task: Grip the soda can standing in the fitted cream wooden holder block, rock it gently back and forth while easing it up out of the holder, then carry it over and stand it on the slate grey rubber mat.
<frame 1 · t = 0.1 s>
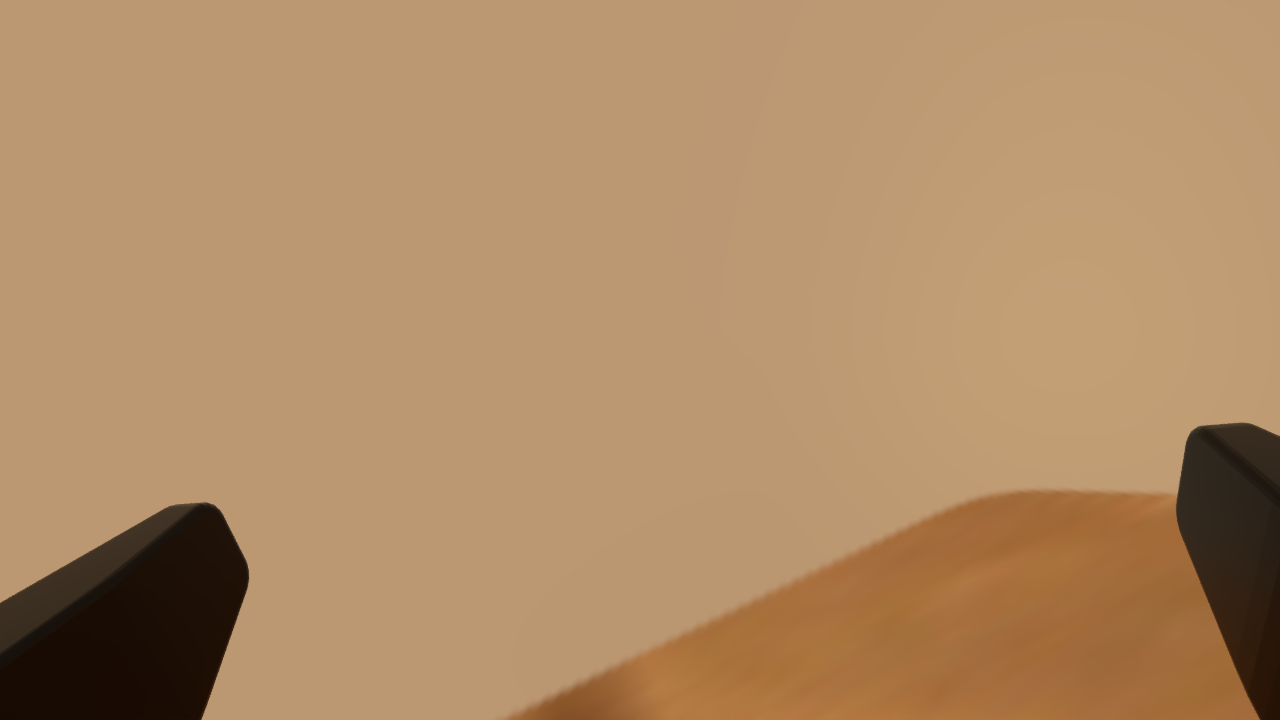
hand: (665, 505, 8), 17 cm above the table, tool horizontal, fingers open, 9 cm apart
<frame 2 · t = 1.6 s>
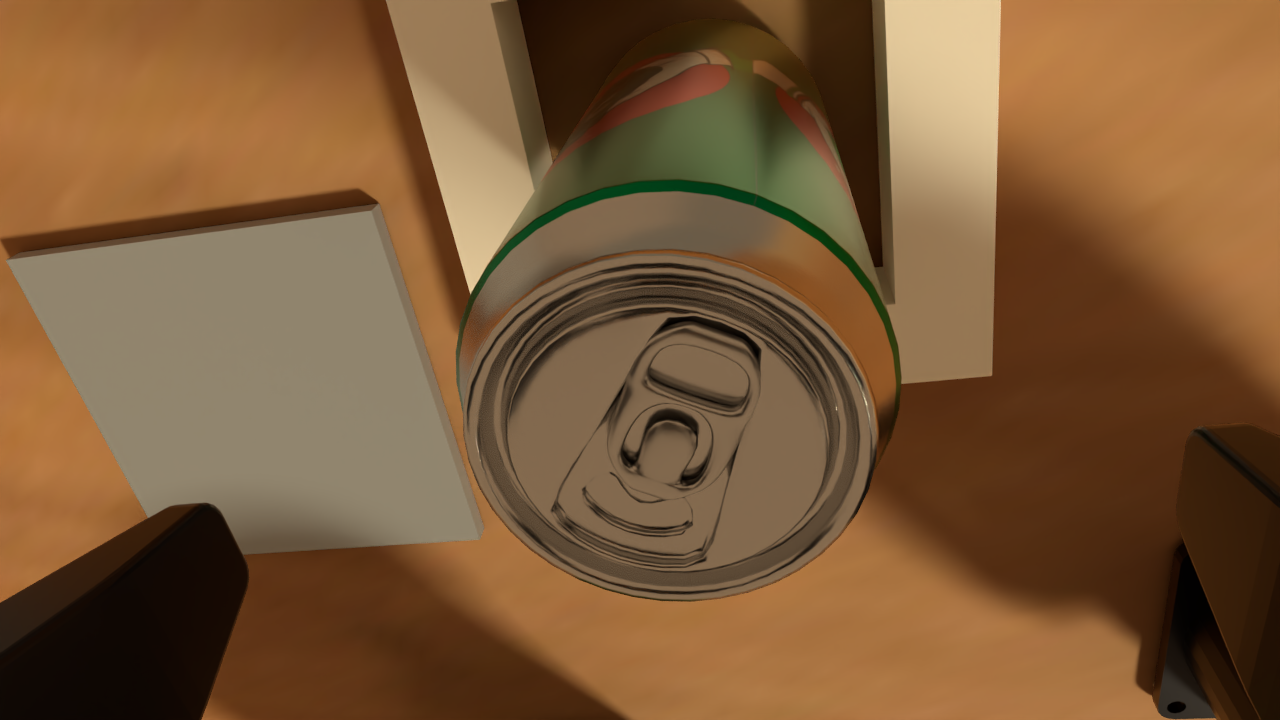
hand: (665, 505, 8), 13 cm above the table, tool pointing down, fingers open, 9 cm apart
grey mat: (266, 398, 24), on the table
soda can: (709, 133, 20), resting in holder block
holder block: (708, 135, 19), on the table
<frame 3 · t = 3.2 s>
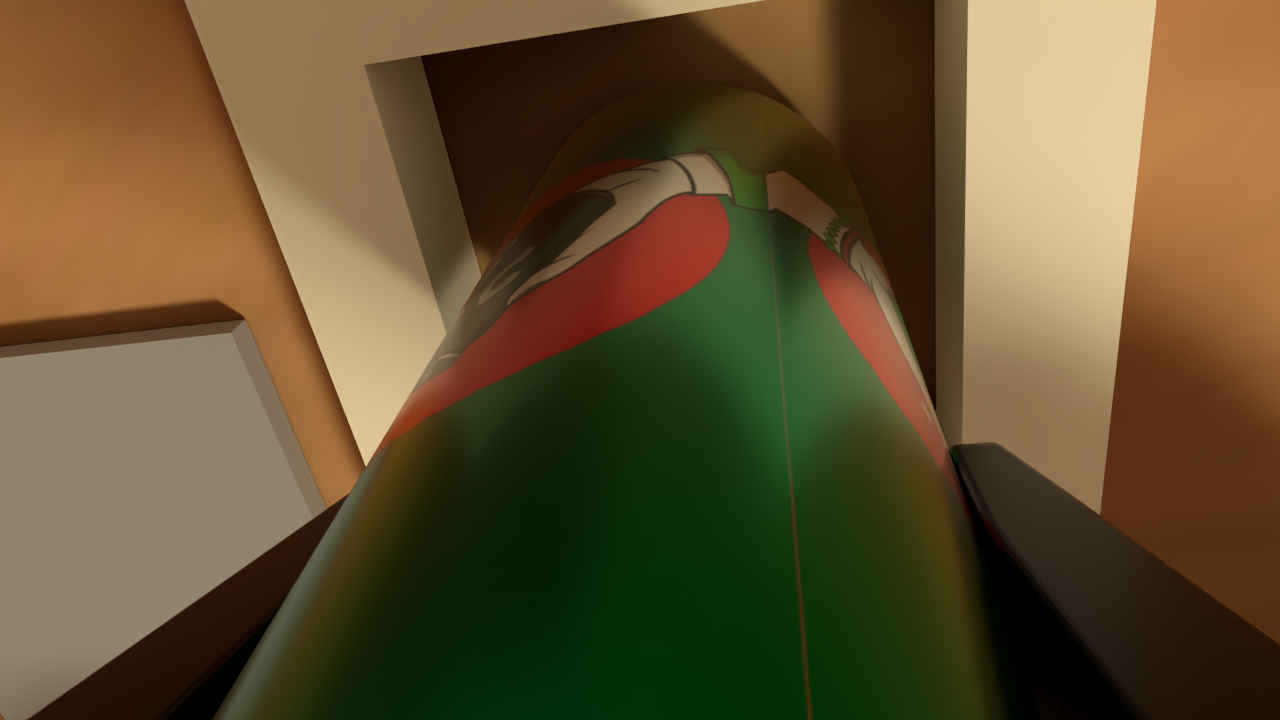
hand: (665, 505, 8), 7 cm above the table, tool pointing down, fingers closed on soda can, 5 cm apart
grey mat: (119, 553, 19), on the table
soda can: (697, 234, 14), resting in holder block, touching gripper
holder block: (696, 238, 14), on the table
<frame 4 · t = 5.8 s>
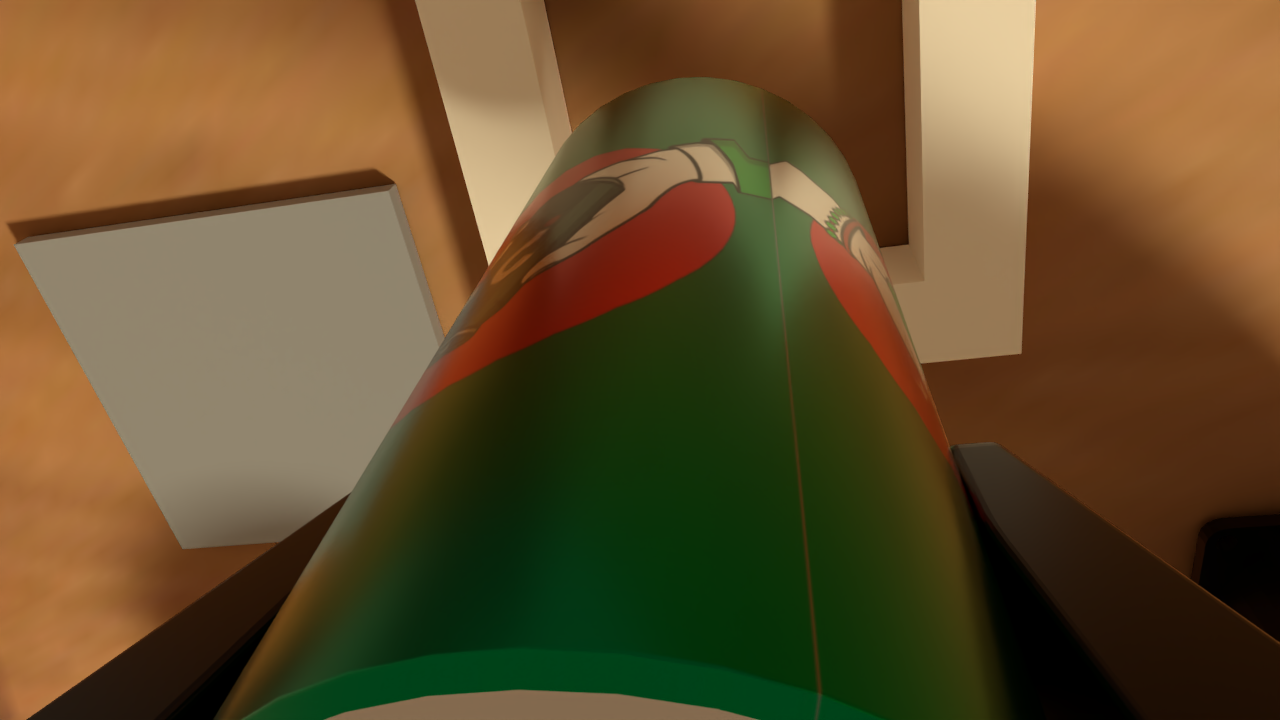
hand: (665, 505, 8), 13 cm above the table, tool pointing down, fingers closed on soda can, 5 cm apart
grey mat: (279, 384, 24), on the table
soda can: (698, 226, 14), point 6 cm above the table, touching gripper
holder block: (733, 111, 19), on the table
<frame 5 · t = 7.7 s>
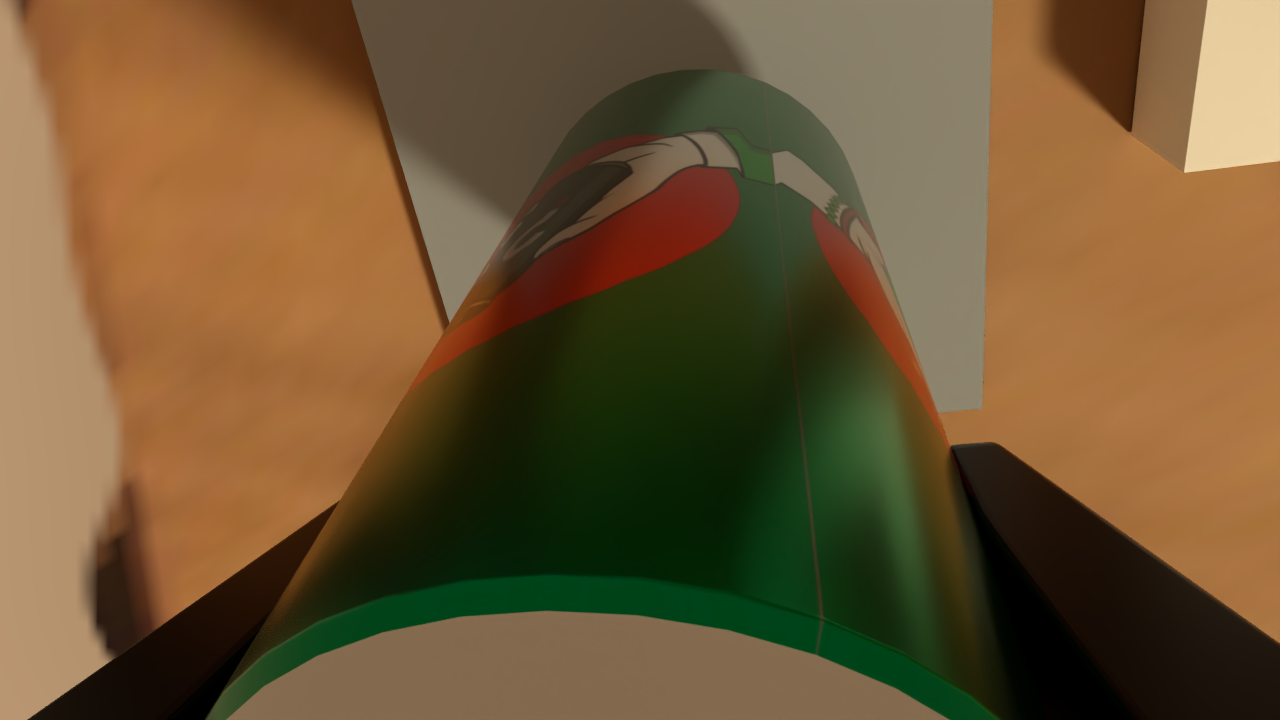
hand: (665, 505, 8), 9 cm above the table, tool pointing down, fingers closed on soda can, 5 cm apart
grey mat: (691, 186, 16), on the table
soda can: (699, 216, 15), point 1 cm above the table, touching gripper
when the fingers open (8 cm above the table, at t = 8.8 s): soda can stays where it is, resting on grey mat.
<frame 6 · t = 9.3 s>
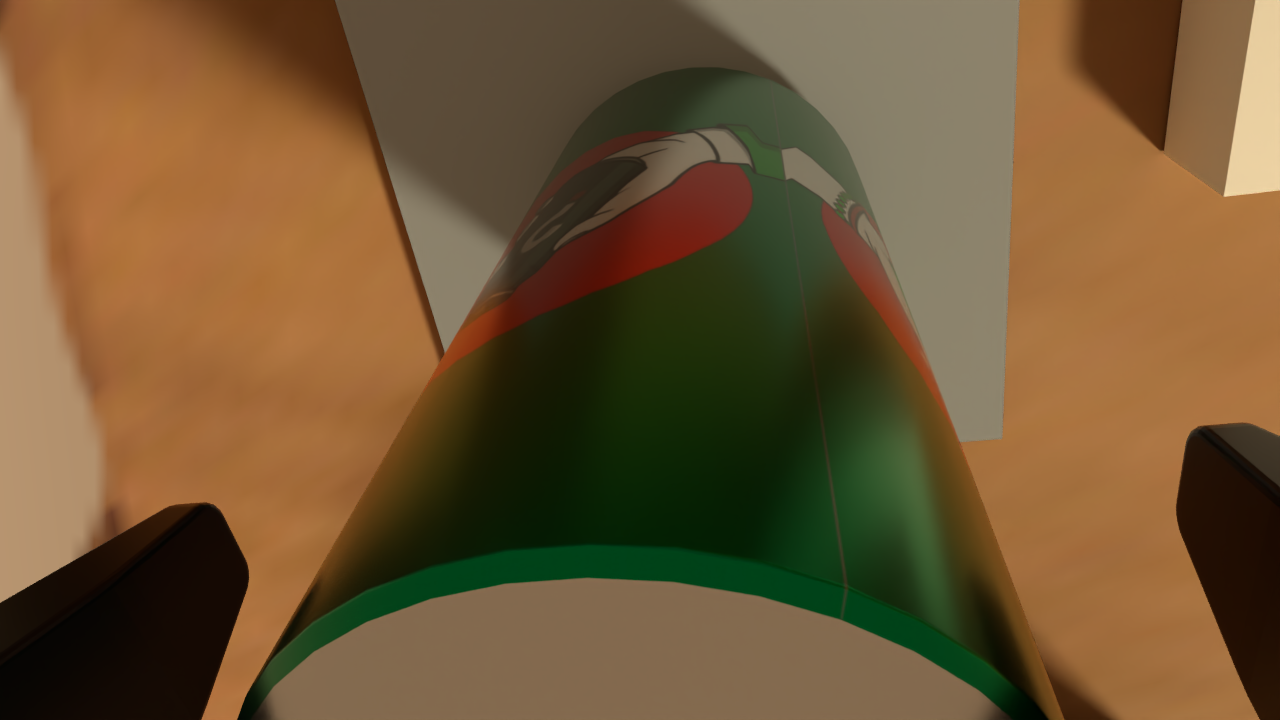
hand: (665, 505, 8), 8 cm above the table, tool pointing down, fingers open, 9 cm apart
grey mat: (697, 206, 15), on the table
soda can: (704, 212, 15), resting on grey mat
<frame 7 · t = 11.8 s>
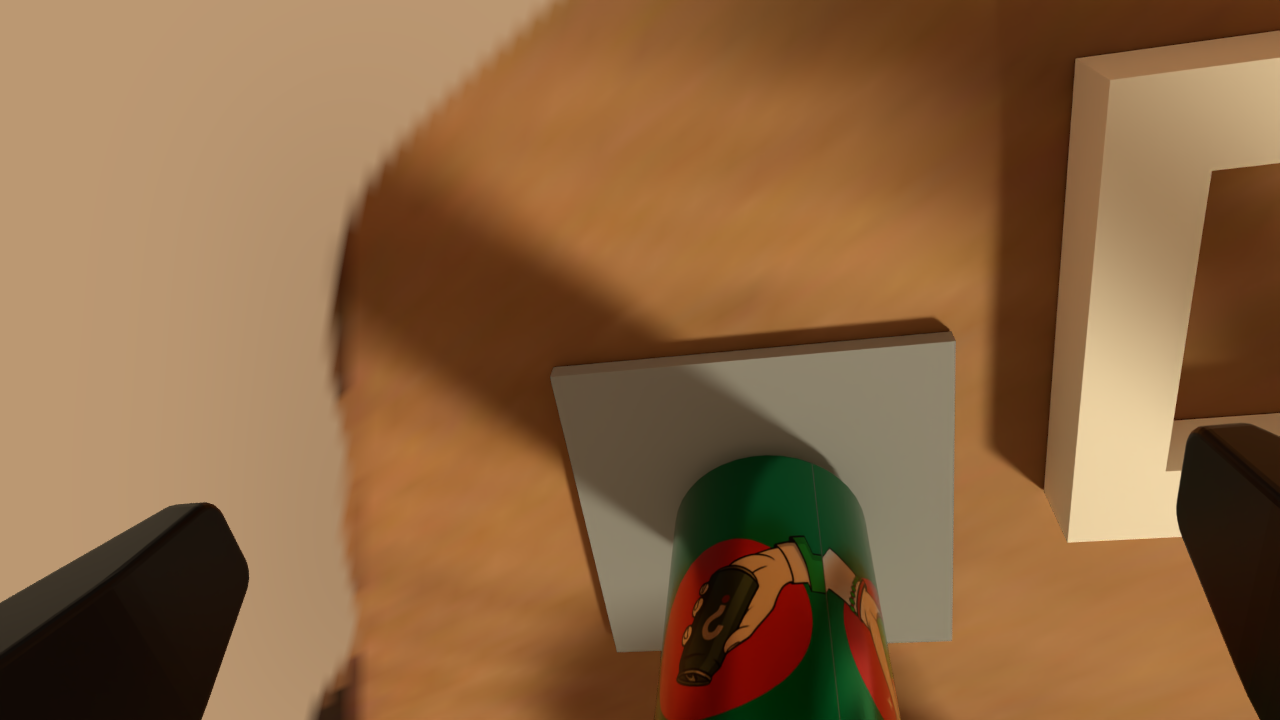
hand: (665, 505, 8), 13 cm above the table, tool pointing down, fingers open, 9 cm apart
grey mat: (763, 505, 25), on the table
soda can: (768, 512, 24), resting on grey mat
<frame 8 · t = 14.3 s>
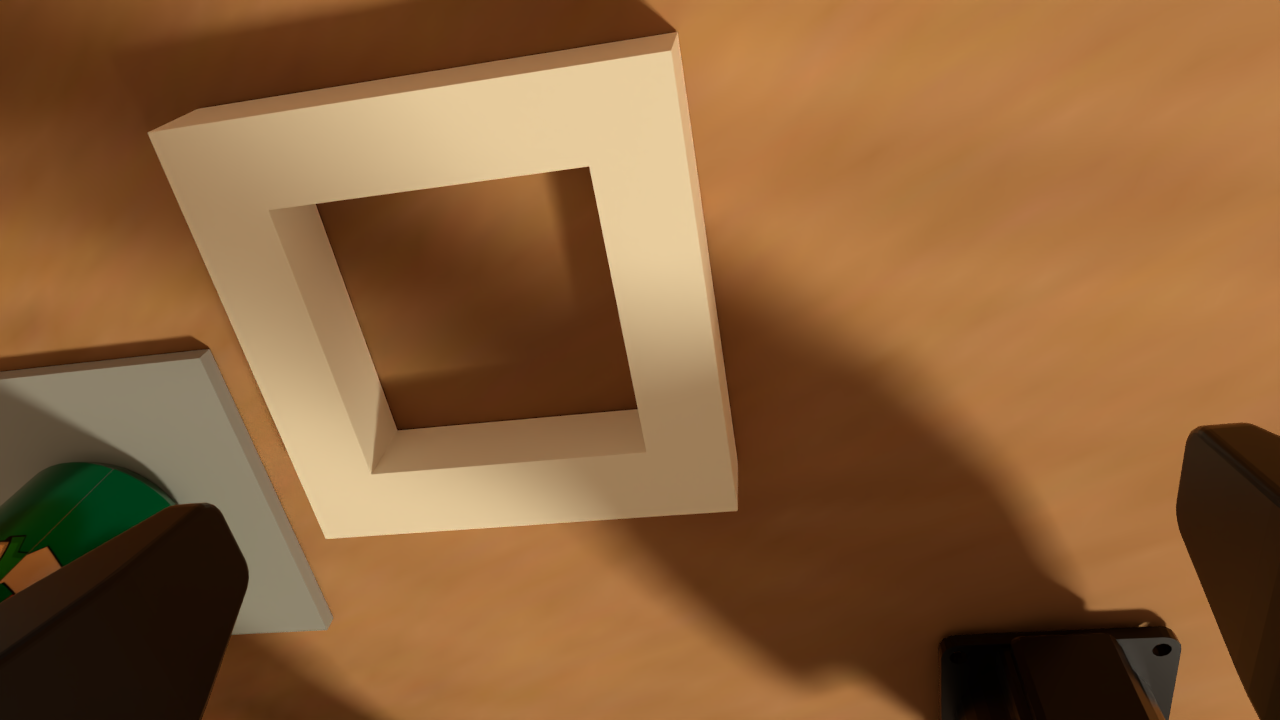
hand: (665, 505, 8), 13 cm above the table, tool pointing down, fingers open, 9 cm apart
grey mat: (127, 507, 27), on the table
soda can: (125, 513, 27), resting on grey mat
holder block: (489, 299, 22), on the table
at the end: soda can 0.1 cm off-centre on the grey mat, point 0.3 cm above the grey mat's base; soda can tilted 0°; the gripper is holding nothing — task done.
